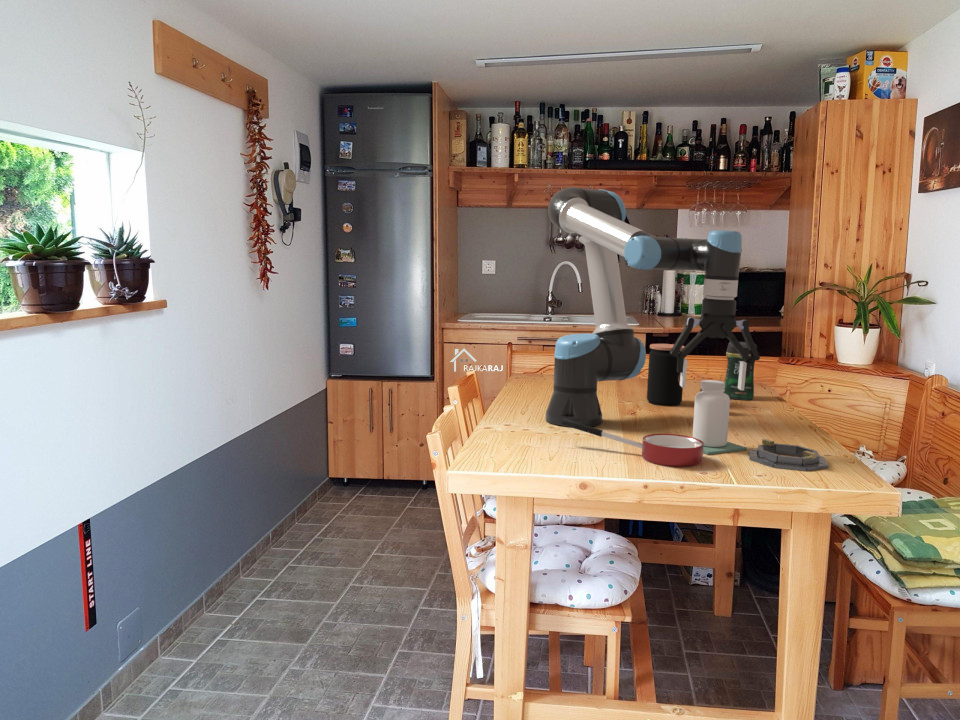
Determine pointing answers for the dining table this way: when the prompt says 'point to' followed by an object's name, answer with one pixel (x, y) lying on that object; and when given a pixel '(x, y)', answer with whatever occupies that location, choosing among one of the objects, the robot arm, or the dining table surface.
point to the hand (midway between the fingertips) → (711, 388)
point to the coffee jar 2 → (733, 375)
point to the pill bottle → (711, 414)
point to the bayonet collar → (770, 458)
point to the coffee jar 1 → (663, 377)
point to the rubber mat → (723, 449)
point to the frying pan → (657, 446)
